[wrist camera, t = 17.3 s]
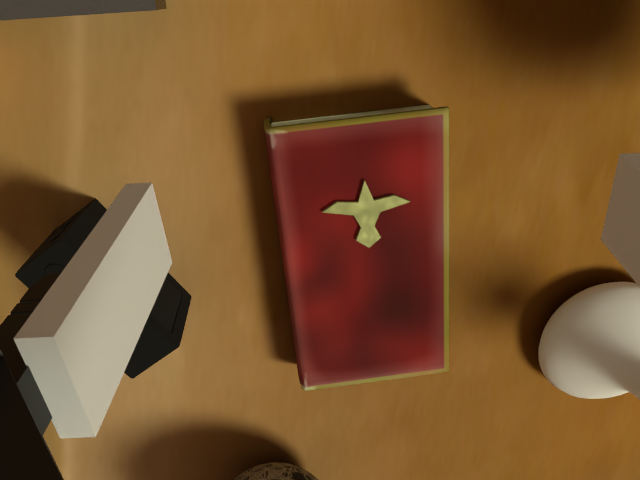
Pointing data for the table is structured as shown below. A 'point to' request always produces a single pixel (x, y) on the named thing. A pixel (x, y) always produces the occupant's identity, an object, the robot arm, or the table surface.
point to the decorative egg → (276, 472)
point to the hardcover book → (364, 242)
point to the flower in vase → (595, 342)
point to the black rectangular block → (167, 309)
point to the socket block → (72, 7)
